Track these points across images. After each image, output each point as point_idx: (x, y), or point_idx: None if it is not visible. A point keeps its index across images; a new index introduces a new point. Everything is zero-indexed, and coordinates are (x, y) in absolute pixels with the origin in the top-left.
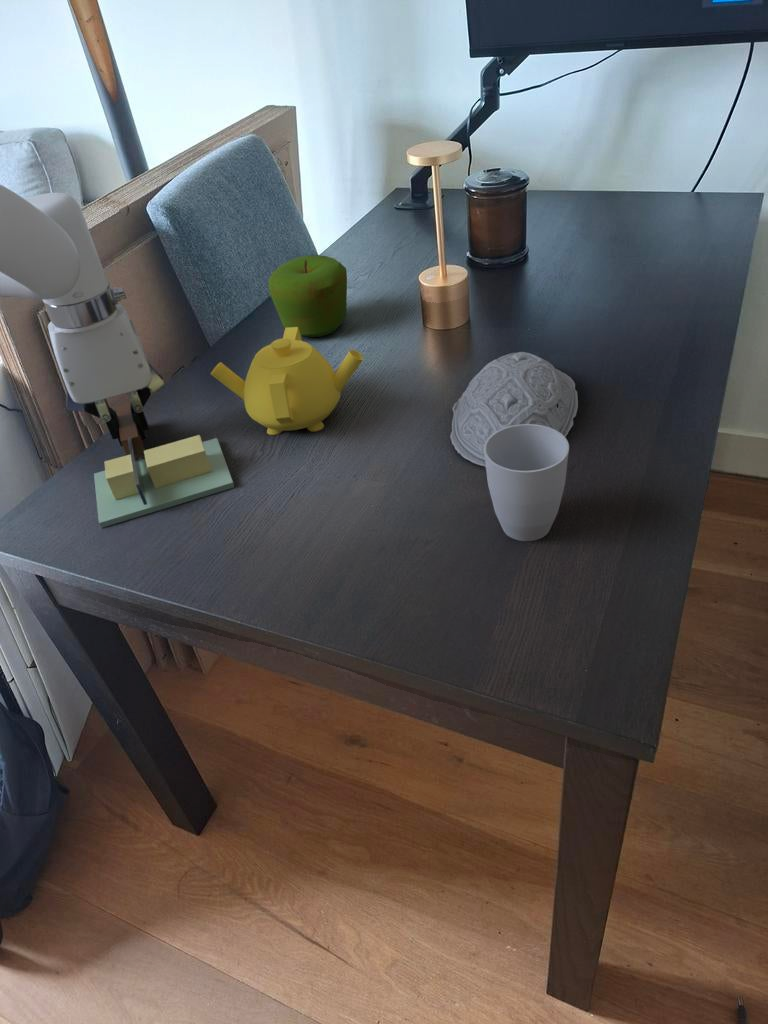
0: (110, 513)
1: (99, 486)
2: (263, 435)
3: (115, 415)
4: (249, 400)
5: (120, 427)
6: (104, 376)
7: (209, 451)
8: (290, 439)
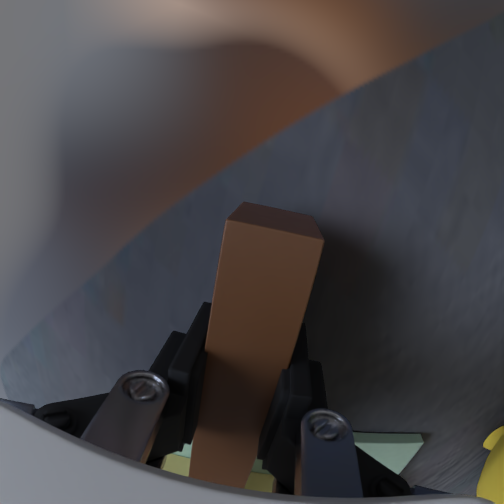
0: None
1: None
2: (477, 442)
3: (191, 417)
4: (501, 501)
5: (201, 428)
6: None
7: None
8: (482, 463)
